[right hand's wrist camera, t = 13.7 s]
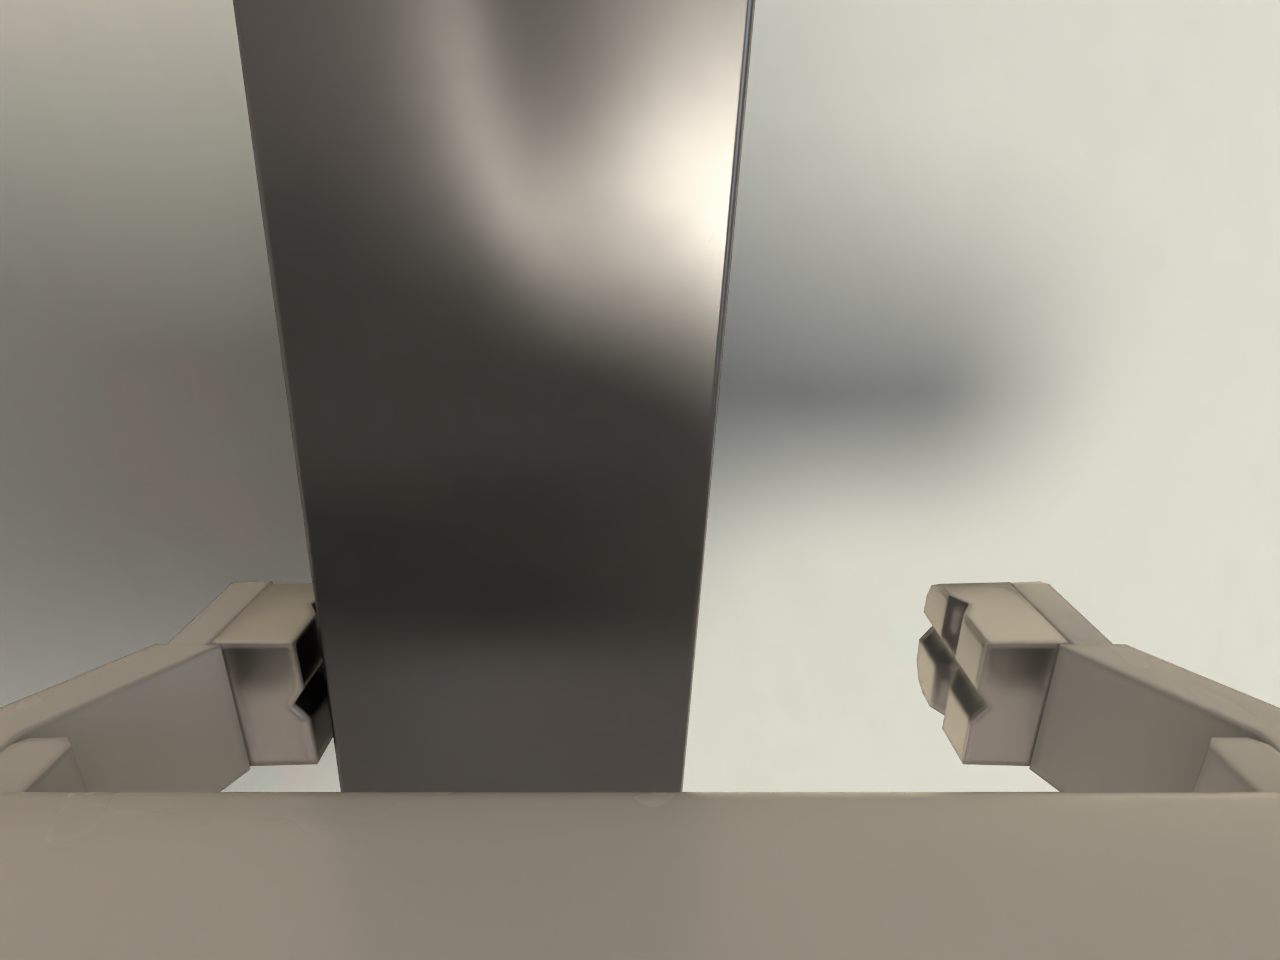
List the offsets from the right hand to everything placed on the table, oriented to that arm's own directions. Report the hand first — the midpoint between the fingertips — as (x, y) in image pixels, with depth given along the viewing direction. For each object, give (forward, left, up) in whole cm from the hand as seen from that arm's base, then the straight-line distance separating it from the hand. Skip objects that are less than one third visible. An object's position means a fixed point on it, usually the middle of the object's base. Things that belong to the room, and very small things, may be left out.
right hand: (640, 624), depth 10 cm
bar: (0, +10, -8) cm, 13 cm away
